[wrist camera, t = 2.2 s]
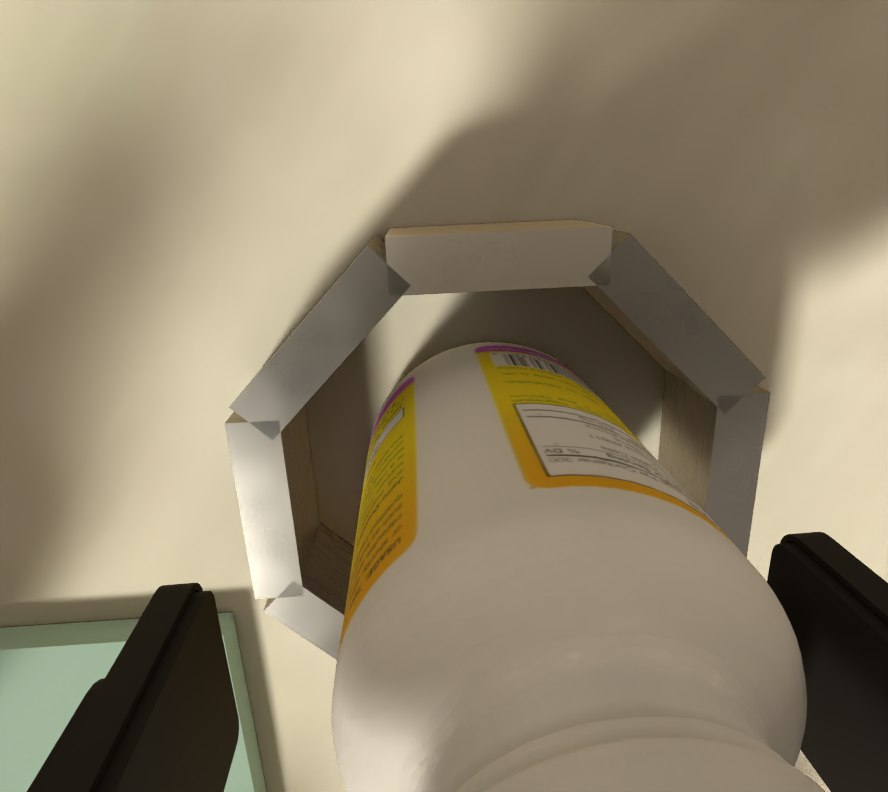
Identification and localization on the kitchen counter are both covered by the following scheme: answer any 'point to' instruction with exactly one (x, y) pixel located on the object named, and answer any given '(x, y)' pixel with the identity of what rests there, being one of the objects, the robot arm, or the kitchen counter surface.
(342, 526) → the kitchen counter surface
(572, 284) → the collar
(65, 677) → the pad
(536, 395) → the supplement bottle
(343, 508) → the kitchen counter surface
